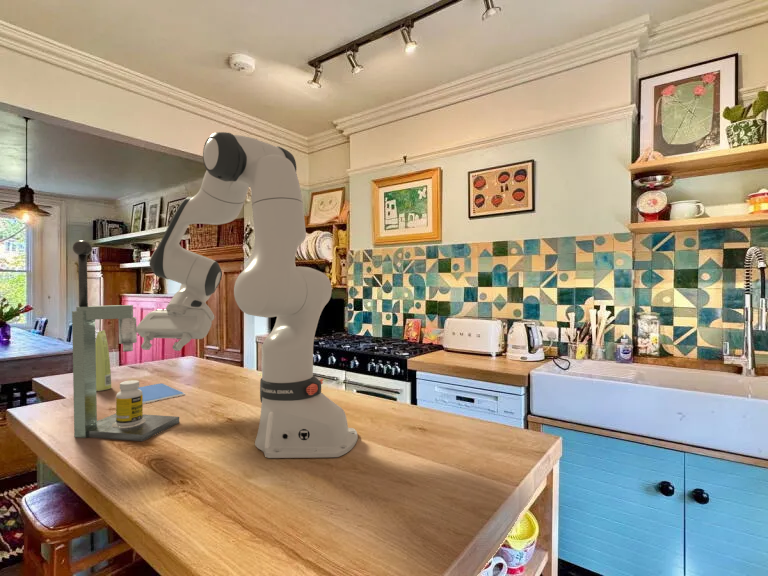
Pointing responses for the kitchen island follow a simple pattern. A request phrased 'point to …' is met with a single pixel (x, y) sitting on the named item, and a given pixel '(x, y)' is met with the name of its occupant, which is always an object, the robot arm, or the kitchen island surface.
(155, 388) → the tablet computer
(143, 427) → the press
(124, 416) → the supplement bottle
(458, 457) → the kitchen island surface
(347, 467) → the kitchen island surface
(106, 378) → the tube
